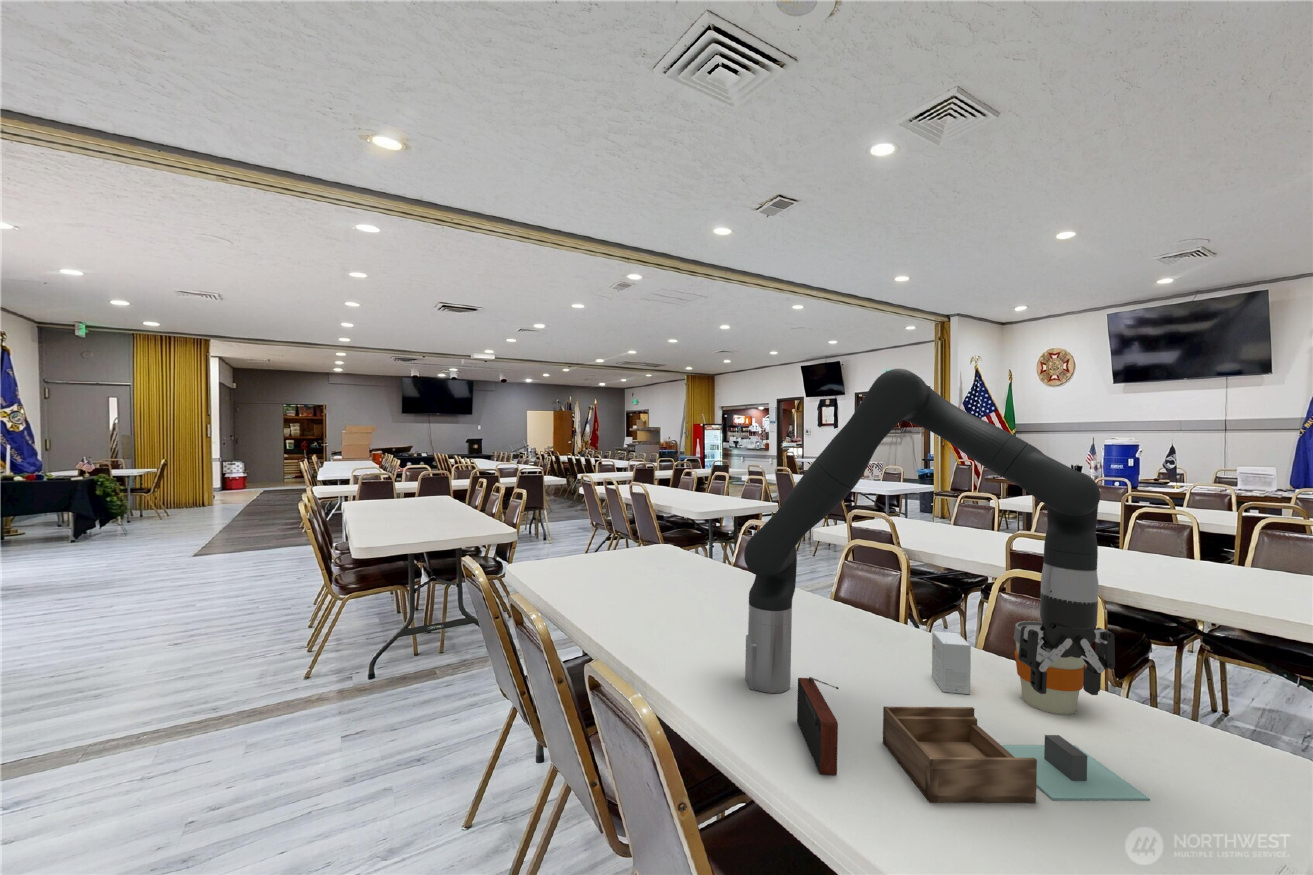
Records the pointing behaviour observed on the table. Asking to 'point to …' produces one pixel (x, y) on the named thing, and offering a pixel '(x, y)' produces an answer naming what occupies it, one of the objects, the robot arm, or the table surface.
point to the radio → (817, 725)
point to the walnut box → (956, 757)
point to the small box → (951, 662)
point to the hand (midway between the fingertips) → (1065, 692)
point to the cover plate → (1076, 788)
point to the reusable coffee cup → (1051, 679)
